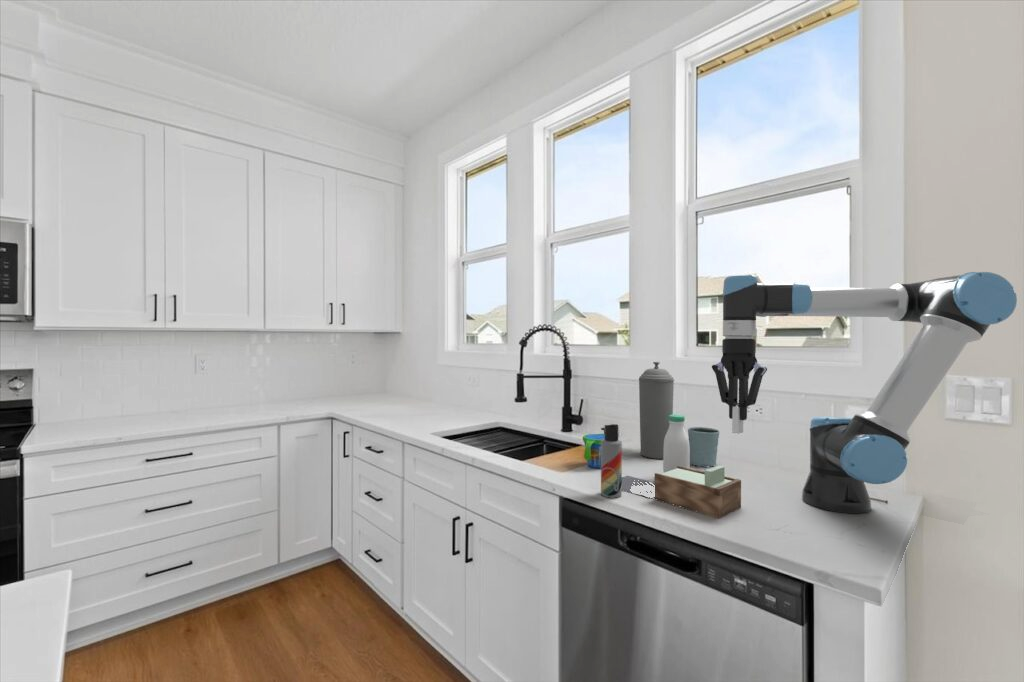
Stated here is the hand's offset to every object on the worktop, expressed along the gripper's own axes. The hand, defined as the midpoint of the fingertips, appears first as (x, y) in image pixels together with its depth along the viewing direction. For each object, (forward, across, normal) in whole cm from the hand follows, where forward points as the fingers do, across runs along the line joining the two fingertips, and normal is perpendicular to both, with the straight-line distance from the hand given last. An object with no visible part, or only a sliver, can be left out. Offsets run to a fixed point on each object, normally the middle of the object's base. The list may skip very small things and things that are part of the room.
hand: (737, 432), depth 121 cm
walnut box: (+21, -11, 0) cm, 23 cm away
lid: (+15, -11, 0) cm, 19 cm away
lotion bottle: (+21, -30, -12) cm, 38 cm away
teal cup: (+21, -30, +39) cm, 53 cm away
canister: (+21, -47, +36) cm, 63 cm away
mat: (+21, -29, 0) cm, 36 cm away
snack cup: (+21, -51, +9) cm, 56 cm away
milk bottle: (+21, -26, +15) cm, 36 cm away
